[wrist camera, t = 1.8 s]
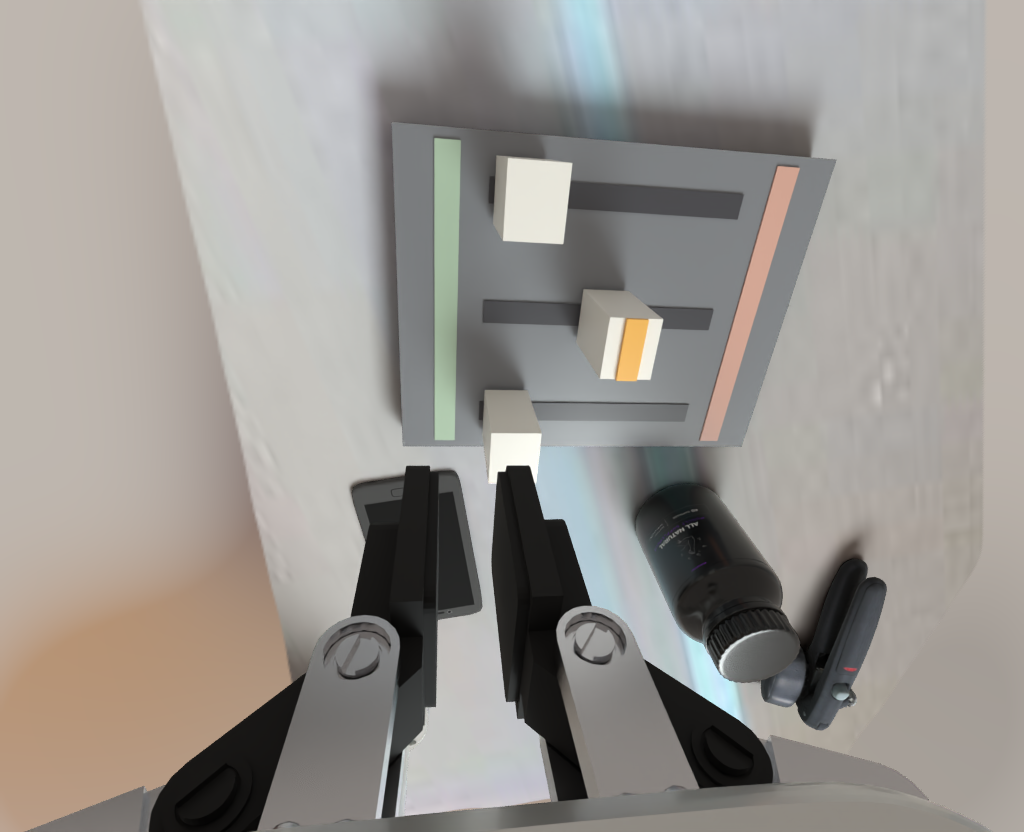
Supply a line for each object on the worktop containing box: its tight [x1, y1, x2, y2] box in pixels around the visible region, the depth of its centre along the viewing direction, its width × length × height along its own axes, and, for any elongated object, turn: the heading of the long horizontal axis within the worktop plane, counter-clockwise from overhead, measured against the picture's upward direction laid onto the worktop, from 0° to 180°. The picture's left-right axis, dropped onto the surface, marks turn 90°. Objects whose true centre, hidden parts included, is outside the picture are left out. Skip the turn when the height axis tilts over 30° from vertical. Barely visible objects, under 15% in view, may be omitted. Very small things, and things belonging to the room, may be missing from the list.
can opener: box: [761, 559, 887, 730], centre depth 45 cm, size 18×7×6 cm, turn 172°
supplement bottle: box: [635, 484, 800, 683], centre depth 33 cm, size 7×7×12 cm
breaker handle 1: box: [493, 155, 572, 244], centre depth 22 cm, size 3×2×5 cm
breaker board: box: [392, 122, 836, 447], centre depth 29 cm, size 17×22×2 cm
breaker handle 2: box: [482, 390, 542, 484], centre depth 28 cm, size 3×2×5 cm
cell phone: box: [352, 471, 482, 620], centre depth 37 cm, size 7×14×1 cm, turn 6°
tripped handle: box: [576, 289, 663, 381], centre depth 26 cm, size 3×2×5 cm
